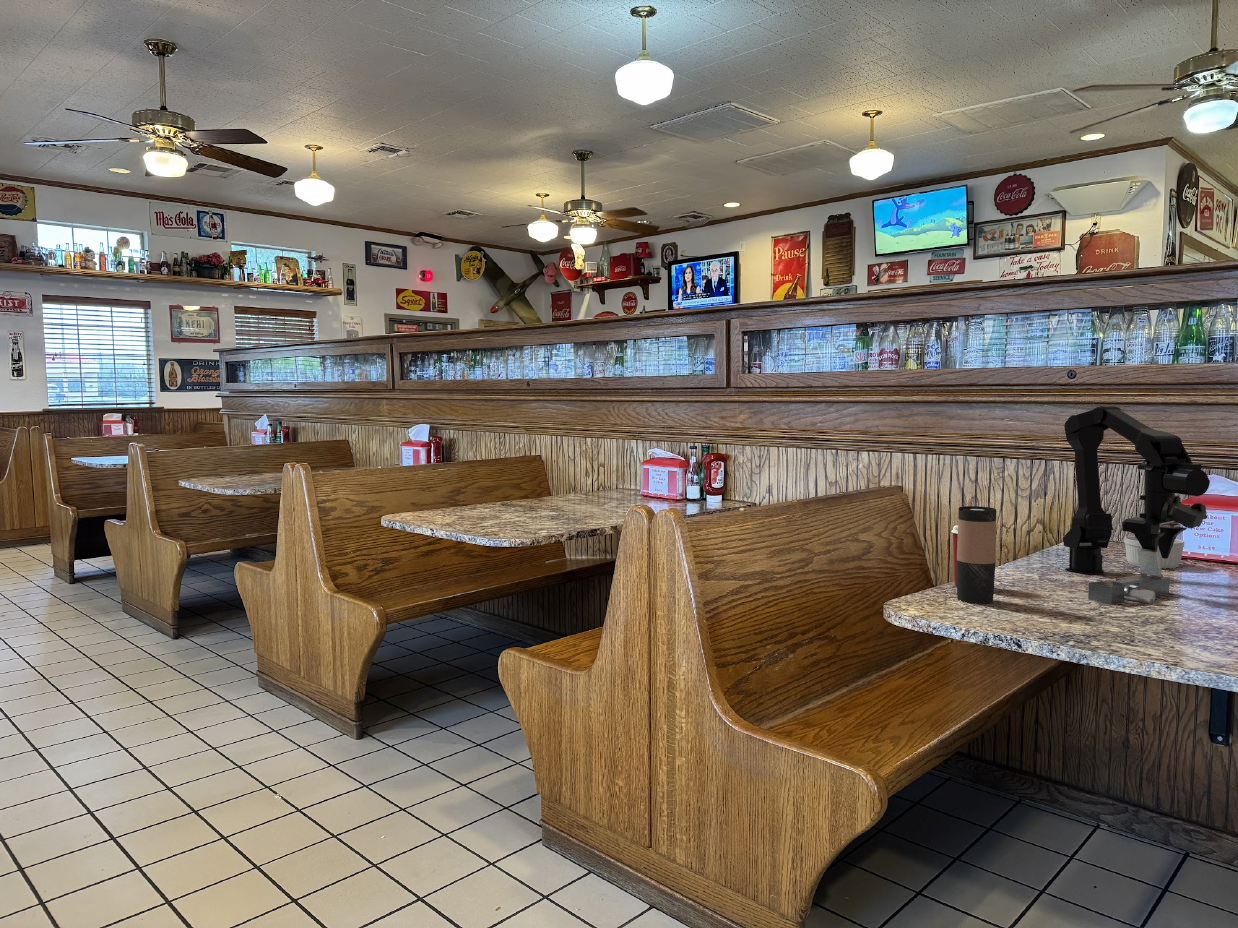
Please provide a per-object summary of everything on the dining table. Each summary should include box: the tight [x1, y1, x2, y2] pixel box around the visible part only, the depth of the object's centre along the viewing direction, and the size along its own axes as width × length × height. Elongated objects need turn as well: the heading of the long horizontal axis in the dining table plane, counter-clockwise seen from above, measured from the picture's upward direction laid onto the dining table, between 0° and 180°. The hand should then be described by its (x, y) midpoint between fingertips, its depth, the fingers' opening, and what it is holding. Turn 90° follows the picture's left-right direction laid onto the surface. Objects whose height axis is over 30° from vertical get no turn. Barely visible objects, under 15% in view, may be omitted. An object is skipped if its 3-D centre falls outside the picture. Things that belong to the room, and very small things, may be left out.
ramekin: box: [1123, 535, 1185, 570], centre depth 213 cm, size 13×13×7 cm
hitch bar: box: [1087, 574, 1171, 605], centre depth 177 cm, size 5×21×4 cm, turn 117°
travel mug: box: [956, 505, 997, 605], centre depth 174 cm, size 8×8×20 cm
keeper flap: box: [1137, 548, 1164, 578], centre depth 180 cm, size 4×1×6 cm, turn 27°
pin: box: [1103, 579, 1156, 605], centre depth 175 cm, size 10×7×3 cm
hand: (1158, 559), depth 182 cm, fingers open, 5 cm apart
